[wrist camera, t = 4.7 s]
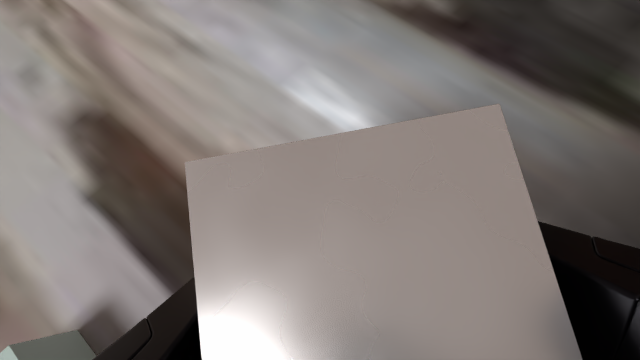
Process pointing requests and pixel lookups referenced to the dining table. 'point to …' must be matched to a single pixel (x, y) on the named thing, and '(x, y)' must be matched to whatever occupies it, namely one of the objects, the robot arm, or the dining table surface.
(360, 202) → the gray rectangular block
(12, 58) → the dining table surface
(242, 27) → the dining table surface
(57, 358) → the frame
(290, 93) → the dining table surface
